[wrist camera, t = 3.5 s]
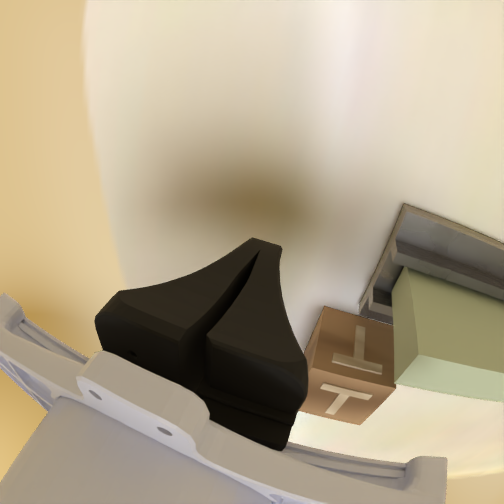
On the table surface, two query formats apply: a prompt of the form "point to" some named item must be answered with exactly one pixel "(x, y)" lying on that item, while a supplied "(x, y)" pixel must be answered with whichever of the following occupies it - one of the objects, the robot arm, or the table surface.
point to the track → (434, 259)
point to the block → (348, 366)
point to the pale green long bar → (447, 337)
